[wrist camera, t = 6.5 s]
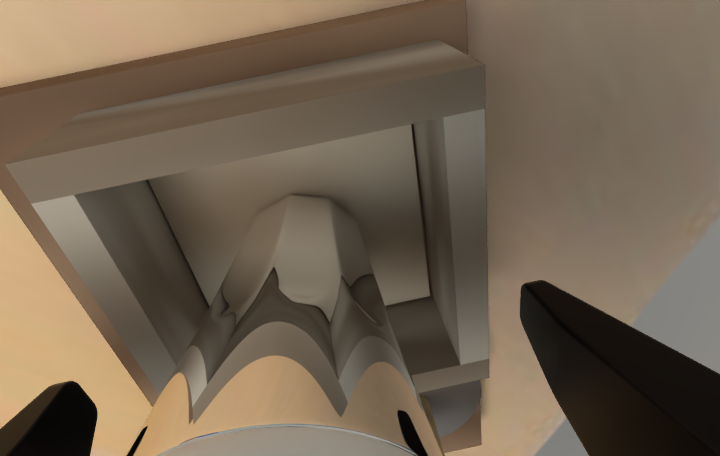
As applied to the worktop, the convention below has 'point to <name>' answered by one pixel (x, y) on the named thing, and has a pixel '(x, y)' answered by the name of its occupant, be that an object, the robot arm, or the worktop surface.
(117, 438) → the worktop surface
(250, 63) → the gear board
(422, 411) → the milkshake
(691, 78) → the worktop surface
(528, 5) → the worktop surface
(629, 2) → the worktop surface
